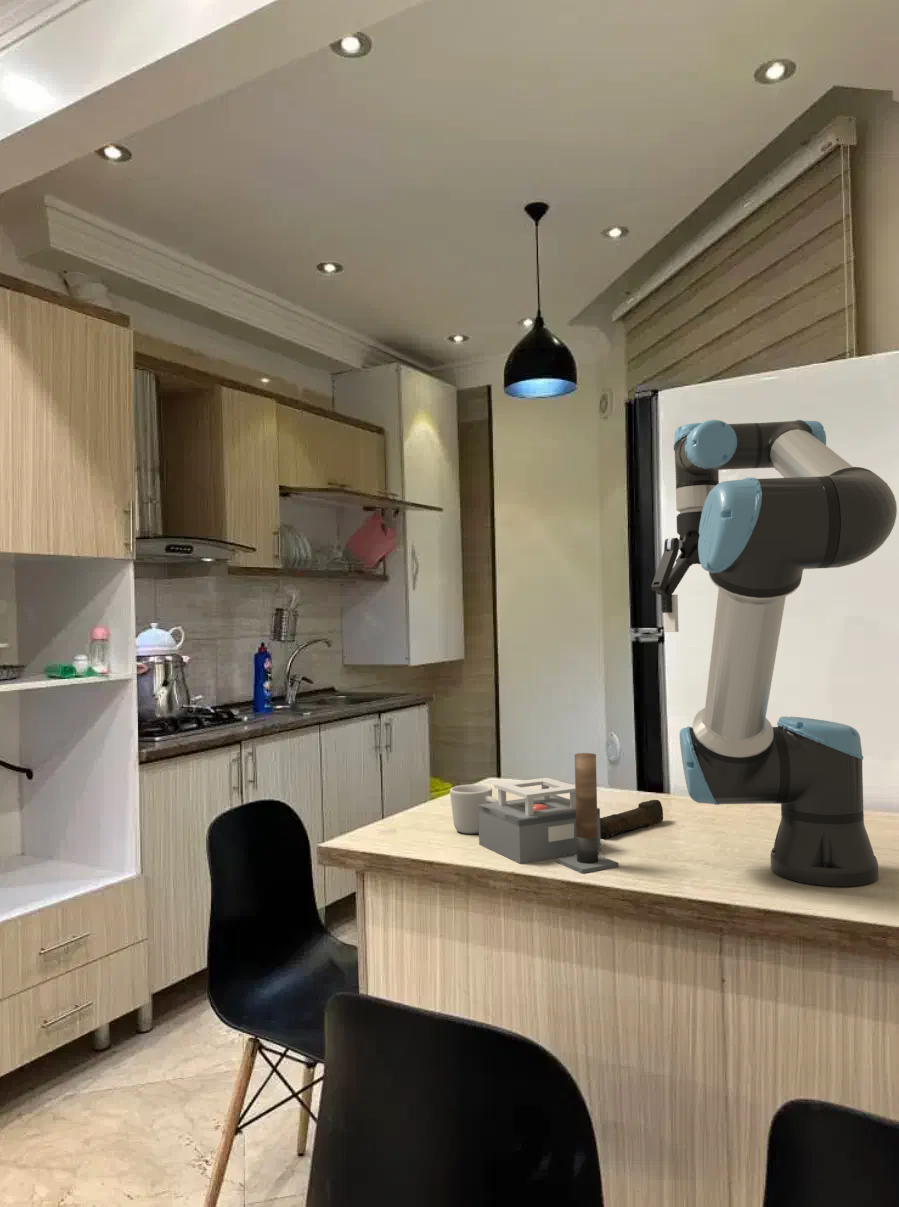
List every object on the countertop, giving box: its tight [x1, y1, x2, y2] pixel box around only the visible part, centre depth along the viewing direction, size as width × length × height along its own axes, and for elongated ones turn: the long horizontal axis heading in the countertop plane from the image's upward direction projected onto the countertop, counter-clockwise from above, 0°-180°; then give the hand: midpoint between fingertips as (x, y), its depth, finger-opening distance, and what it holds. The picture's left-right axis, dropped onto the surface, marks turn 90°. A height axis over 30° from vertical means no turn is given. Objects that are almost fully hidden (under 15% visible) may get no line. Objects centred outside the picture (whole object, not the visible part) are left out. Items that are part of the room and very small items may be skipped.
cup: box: [449, 784, 499, 835], centre depth 164 cm, size 11×8×8 cm
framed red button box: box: [478, 777, 602, 865], centre depth 152 cm, size 14×16×11 cm
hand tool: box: [600, 799, 664, 840], centre depth 163 cm, size 19×4×5 cm, turn 127°
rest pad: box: [556, 854, 620, 874], centre depth 141 cm, size 7×7×1 cm
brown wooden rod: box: [574, 752, 599, 864], centre depth 141 cm, size 3×3×17 cm
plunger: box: [533, 804, 547, 811], centre depth 152 cm, size 3×3×7 cm
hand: (701, 630), depth 156 cm, fingers open, 13 cm apart
